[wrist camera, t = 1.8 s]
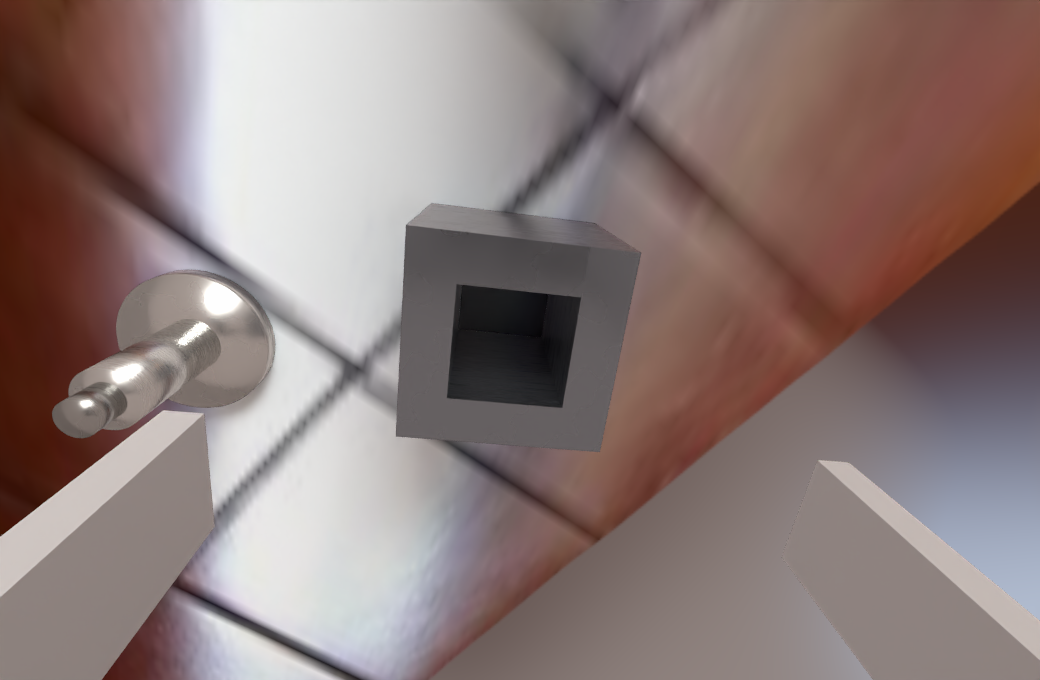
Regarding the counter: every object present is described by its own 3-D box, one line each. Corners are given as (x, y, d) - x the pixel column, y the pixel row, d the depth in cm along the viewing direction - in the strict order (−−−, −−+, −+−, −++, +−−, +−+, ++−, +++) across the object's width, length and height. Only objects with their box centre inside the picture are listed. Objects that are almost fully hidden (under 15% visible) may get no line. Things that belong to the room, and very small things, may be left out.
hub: (120, 261, 24) (-61, 314, 16) (272, 277, 25) (170, 336, 17) (139, 392, 26) (-11, 495, 18) (277, 404, 27) (190, 507, 19)
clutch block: (431, 203, 24) (406, 225, 17) (594, 223, 25) (640, 252, 17) (421, 357, 27) (396, 436, 19) (569, 371, 28) (599, 452, 20)
